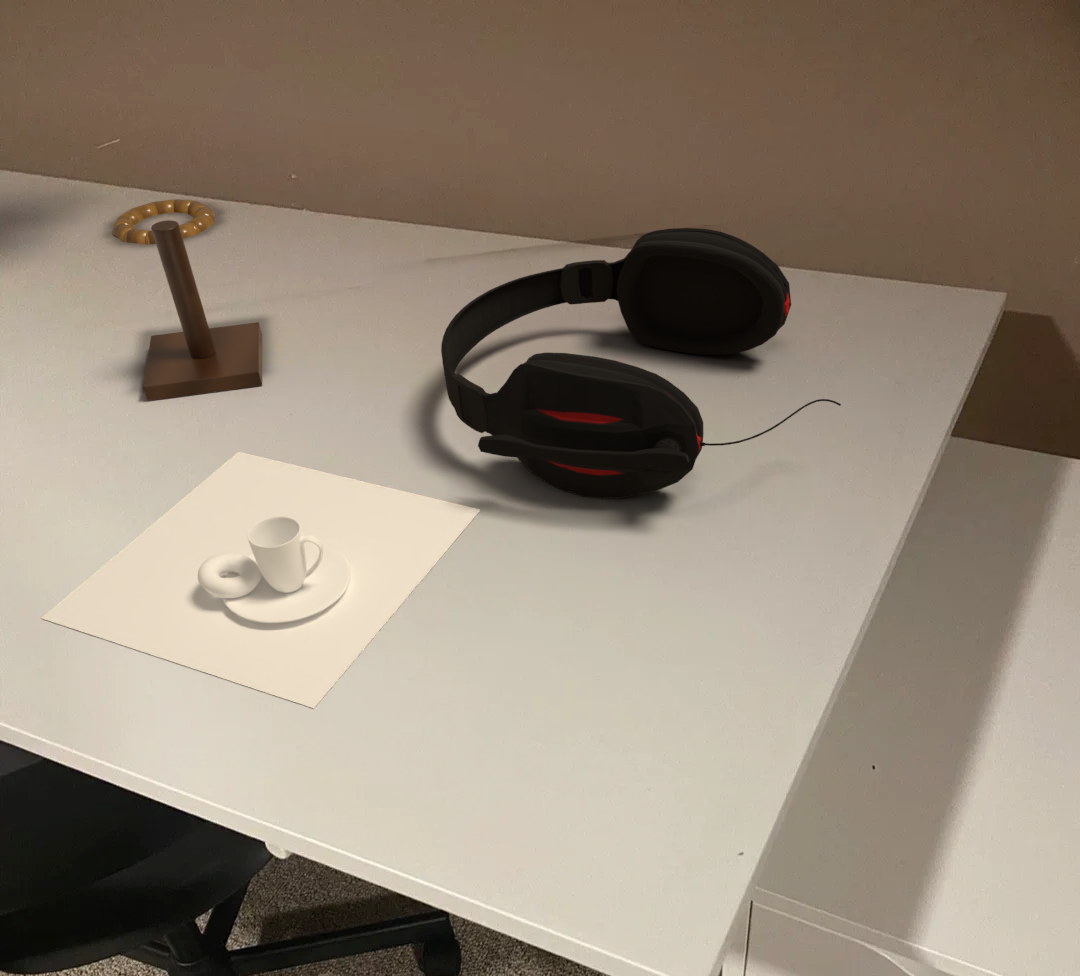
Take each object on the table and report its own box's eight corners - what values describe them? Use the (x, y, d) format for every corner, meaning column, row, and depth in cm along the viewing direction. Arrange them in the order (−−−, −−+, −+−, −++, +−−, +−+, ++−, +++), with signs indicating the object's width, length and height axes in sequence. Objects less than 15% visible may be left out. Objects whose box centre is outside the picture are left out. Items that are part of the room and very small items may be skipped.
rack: (147, 401, 80) (95, 256, 71) (155, 349, 86) (108, 210, 78) (262, 385, 80) (224, 241, 72) (262, 335, 87) (227, 196, 78)
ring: (113, 261, 99) (106, 240, 98) (122, 223, 106) (116, 203, 104) (216, 248, 100) (210, 227, 99) (219, 212, 107) (213, 192, 105)
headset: (847, 516, 65) (875, 390, 59) (442, 537, 65) (426, 415, 59) (765, 320, 85) (779, 210, 78) (453, 337, 85) (441, 228, 78)
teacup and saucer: (186, 606, 62) (165, 552, 59) (262, 533, 67) (247, 480, 64) (305, 642, 59) (290, 588, 56) (376, 564, 64) (365, 510, 61)
